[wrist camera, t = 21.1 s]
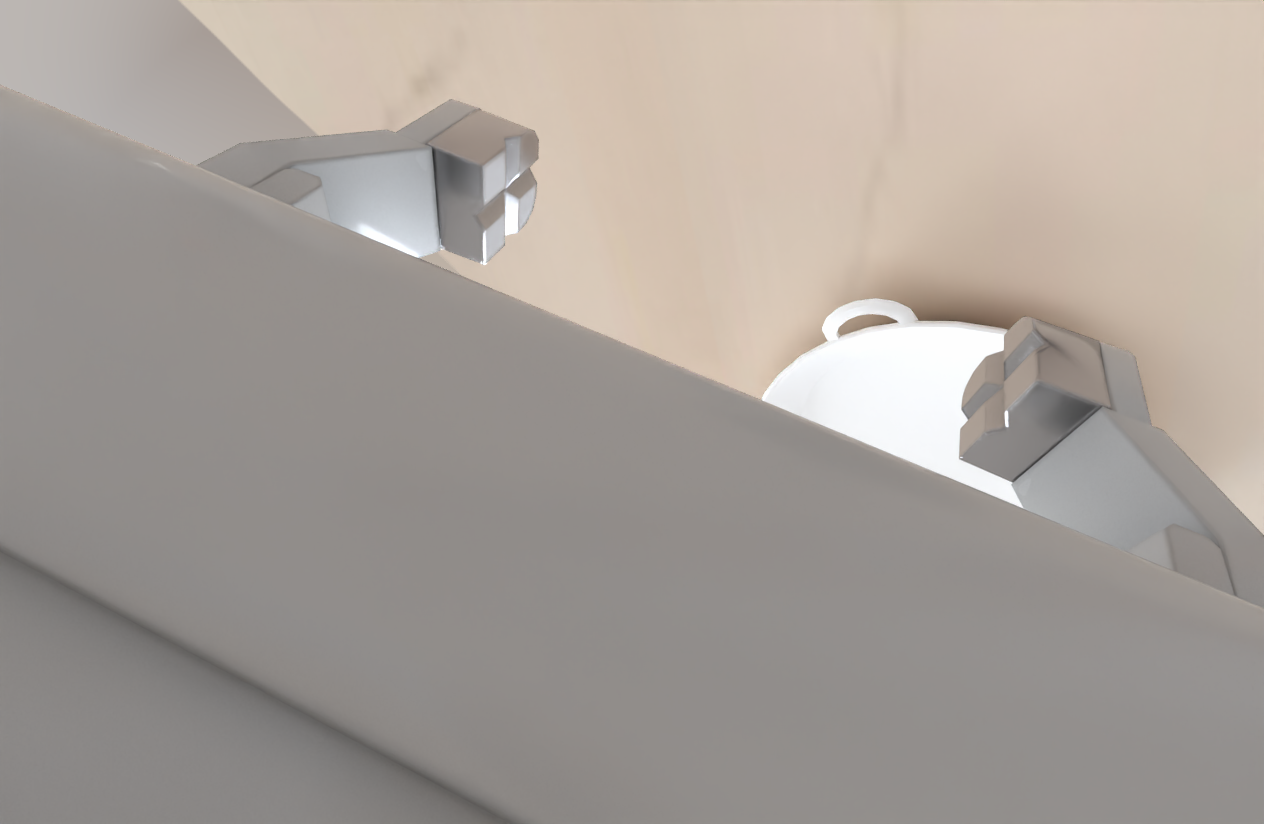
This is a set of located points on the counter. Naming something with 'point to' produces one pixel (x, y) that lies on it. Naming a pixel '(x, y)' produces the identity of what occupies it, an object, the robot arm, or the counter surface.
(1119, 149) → the counter surface
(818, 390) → the pan
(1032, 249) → the counter surface
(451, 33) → the counter surface
